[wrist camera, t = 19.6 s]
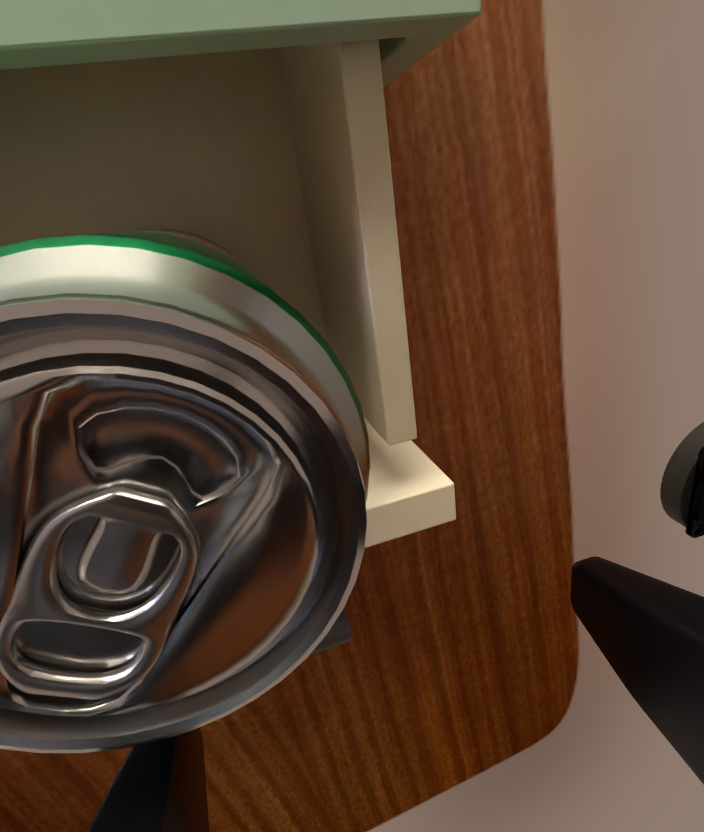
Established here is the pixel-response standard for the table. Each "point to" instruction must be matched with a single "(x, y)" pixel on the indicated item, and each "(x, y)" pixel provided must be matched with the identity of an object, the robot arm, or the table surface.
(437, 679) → the table surface
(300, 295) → the drawer
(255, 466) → the soda can
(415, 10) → the cabinet
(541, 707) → the table surface
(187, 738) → the robot arm
